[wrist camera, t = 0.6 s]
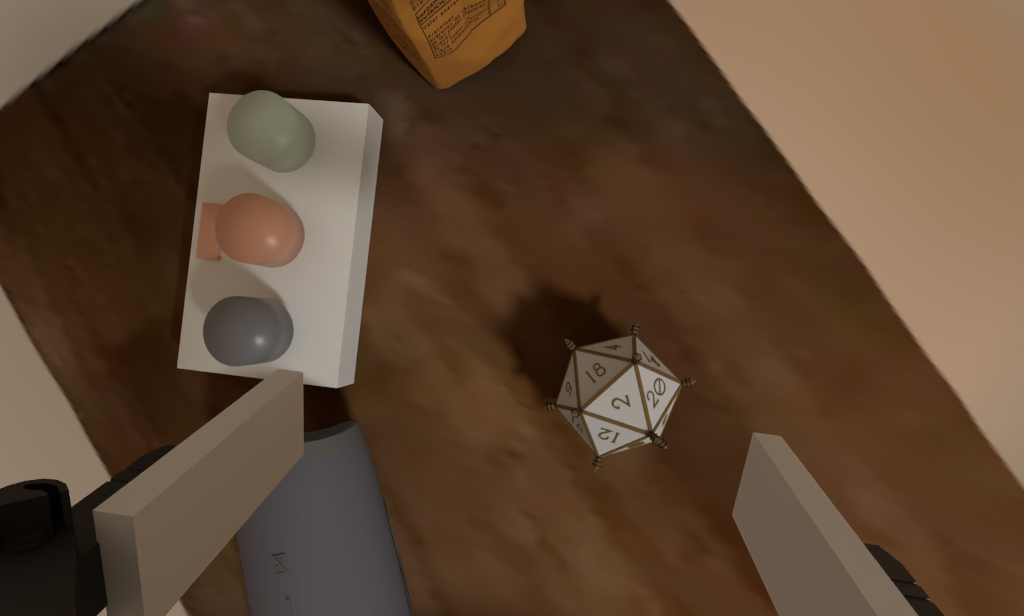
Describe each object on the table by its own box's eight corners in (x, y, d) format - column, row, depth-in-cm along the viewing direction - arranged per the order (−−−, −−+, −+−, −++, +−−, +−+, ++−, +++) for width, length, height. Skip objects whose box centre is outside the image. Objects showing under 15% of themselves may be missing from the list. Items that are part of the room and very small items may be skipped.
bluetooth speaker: (273, 436, 41) (179, 473, 31) (389, 409, 40) (330, 438, 30) (338, 738, 40) (263, 875, 30) (459, 716, 39) (422, 850, 29)
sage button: (311, 175, 37) (289, 162, 34) (250, 170, 37) (223, 157, 34) (319, 111, 37) (297, 92, 34) (257, 106, 37) (231, 88, 34)
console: (353, 383, 41) (335, 388, 37) (204, 364, 42) (173, 368, 39) (383, 119, 41) (367, 102, 38) (234, 109, 42) (206, 91, 39)
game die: (604, 355, 43) (642, 273, 35) (683, 440, 39) (746, 370, 31) (513, 413, 39) (532, 336, 31) (591, 514, 35) (635, 455, 27)
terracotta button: (300, 270, 37) (277, 266, 34) (239, 264, 37) (211, 259, 34) (308, 206, 37) (285, 195, 34) (246, 200, 37) (219, 190, 34)
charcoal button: (289, 366, 36) (265, 370, 33) (228, 359, 37) (198, 362, 34) (297, 301, 37) (273, 299, 34) (236, 294, 37) (207, 292, 34)
